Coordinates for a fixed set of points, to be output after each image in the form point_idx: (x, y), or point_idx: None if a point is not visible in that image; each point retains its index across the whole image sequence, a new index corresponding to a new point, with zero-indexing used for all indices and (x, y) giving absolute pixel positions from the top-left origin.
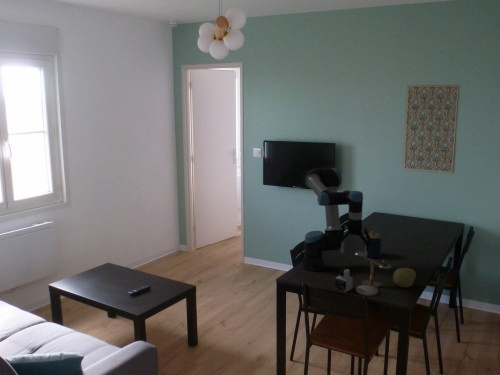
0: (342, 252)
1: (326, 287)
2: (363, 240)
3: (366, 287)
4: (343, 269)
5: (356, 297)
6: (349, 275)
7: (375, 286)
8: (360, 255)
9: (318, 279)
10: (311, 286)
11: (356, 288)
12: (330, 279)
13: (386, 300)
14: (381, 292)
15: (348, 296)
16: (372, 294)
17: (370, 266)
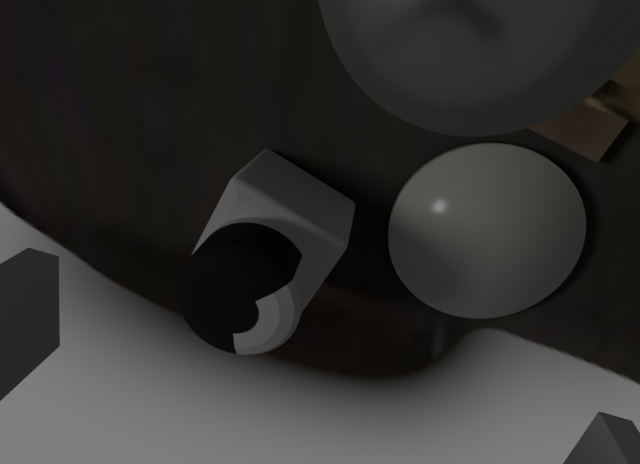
0: (46, 351)
1: (154, 211)
2: None
3: (483, 198)
4: (223, 316)
5: (388, 342)
6: (309, 284)
7: (580, 153)
8: (476, 133)
9: (44, 49)
10: (48, 212)
11: (390, 234)
12: (142, 20)
13: (612, 362)
14: (611, 230)
15: (331, 334)
16: (517, 307)
17: (623, 107)
